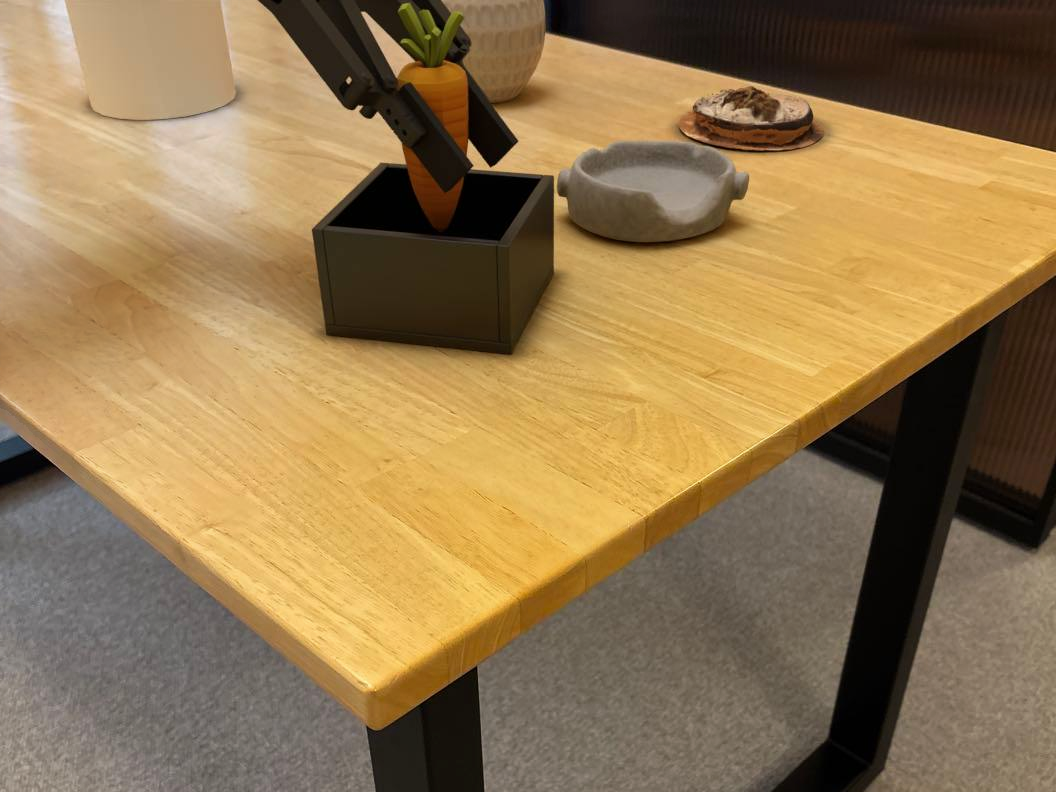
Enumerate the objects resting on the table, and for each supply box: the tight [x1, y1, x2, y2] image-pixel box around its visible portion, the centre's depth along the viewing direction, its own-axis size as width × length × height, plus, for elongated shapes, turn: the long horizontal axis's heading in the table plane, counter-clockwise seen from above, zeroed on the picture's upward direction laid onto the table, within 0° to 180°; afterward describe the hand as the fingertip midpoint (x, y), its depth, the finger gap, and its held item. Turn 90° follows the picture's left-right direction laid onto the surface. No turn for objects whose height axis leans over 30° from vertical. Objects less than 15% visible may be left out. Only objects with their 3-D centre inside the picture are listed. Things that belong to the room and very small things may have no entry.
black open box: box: [311, 162, 555, 355], centre depth 78 cm, size 14×14×8 cm
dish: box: [556, 140, 750, 243], centre depth 93 cm, size 14×14×5 cm
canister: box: [64, 0, 237, 121], centre depth 117 cm, size 16×16×20 cm
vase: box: [441, 0, 547, 104], centre depth 119 cm, size 13×13×17 cm
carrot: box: [396, 3, 469, 232], centre depth 73 cm, size 5×5×15 cm
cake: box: [678, 85, 825, 152], centre depth 112 cm, size 15×15×4 cm
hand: (481, 166), depth 73 cm, fingers closed on carrot, 5 cm apart
